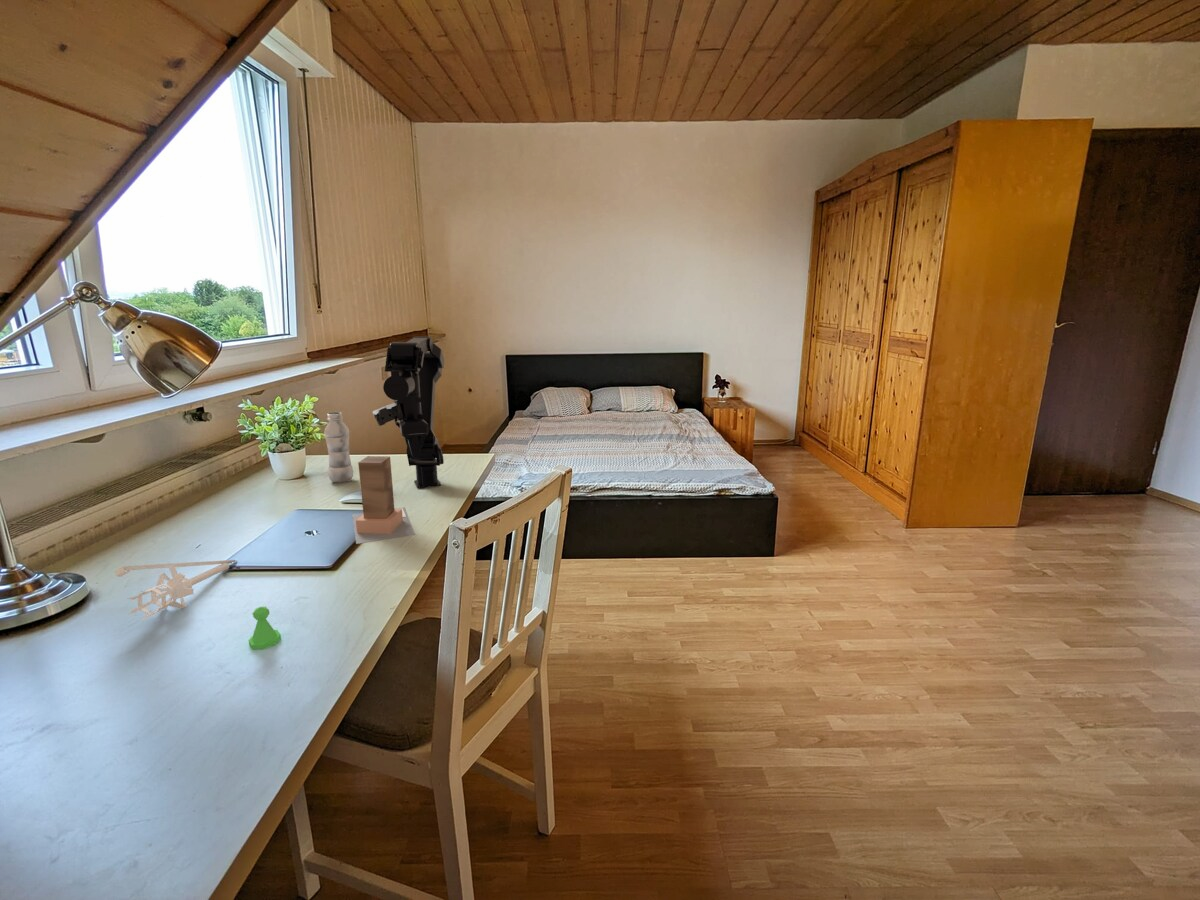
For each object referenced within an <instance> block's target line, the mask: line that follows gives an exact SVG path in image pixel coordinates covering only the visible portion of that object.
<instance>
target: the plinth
mask: <svg viewBox="0 0 1200 900" xmlns="http://www.w3.org/2000/svg"><path fill="white" fill-rule="evenodd" d="M394 509H395V511H394V512H393V513H392V514H391V515H390V516H389V517H388V518H387V519H369V518H364V515H361V516H360V517H359V518H358V519H357V520H356V528H357V533H377V534H391V533H392V532H393V531H394V530H395V529H396V528H397V527H398V525H399V524H400V523H401V522H402V521H403V516H402V509H397V508H394Z"/></svg>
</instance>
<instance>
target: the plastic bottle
mask: <svg viewBox="0 0 1200 900" xmlns="http://www.w3.org/2000/svg"><path fill="white" fill-rule="evenodd" d="M343 420H344V418H343V413H342V412H339V411H333V412H328V413H327V421H328V423H327V425H326V426H325V428H324V432H323V435H324V439H325V443H326V446H327V453H328V470H327V475H328V479H329V480H330V481H331V482H333V483H346V482H350V481H351V480H352V479H353V478H354V468H353V465H352V459H351V457H350V429H349V427H348V426H347V425H346V423H345V422H343Z"/></svg>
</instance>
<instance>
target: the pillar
mask: <svg viewBox="0 0 1200 900" xmlns="http://www.w3.org/2000/svg"><path fill="white" fill-rule="evenodd" d="M391 461H392V460H391V456H385V455H384V456H379V455H376V456H375V455H368V456H365V457H364V458H363V459H361V460H360V461H358V472H359V484H360V495H361V502H362V503H361V504H362V513H363V515H364V518H369V519H387V518H388V517H389V516H390V515H391V514H392V513H393V512H394V511H395V509H396V508H395V500H394V499H395V497H394V489H393V488H394V487H393V475H392V464H391V463H392V462H391Z"/></svg>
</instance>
